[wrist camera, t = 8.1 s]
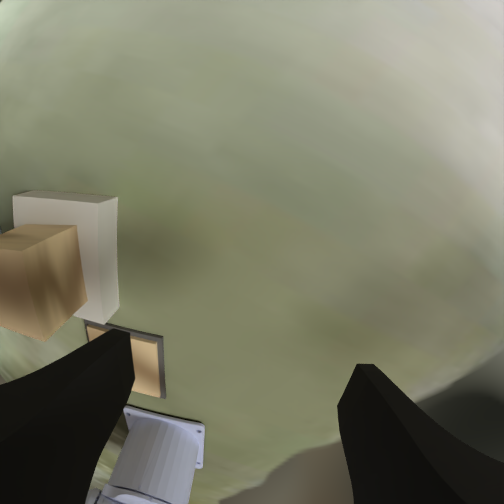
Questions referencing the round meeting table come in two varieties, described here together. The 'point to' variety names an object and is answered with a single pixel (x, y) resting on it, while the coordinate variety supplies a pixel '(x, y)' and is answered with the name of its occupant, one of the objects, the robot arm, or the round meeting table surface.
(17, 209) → the base block
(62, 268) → the maple cube
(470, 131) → the round meeting table surface
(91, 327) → the tile
